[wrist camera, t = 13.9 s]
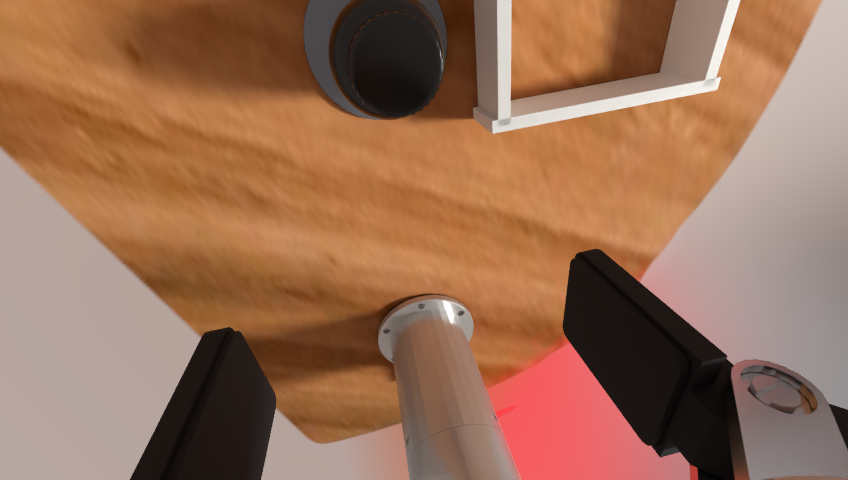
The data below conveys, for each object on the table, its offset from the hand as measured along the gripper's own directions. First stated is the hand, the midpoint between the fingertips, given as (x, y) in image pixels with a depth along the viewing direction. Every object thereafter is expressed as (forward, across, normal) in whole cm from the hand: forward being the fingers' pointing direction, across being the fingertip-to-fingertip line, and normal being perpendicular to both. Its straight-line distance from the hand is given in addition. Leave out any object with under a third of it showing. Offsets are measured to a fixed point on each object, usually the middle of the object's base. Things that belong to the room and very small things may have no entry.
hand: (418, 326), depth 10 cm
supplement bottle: (+24, -2, -6) cm, 25 cm away
